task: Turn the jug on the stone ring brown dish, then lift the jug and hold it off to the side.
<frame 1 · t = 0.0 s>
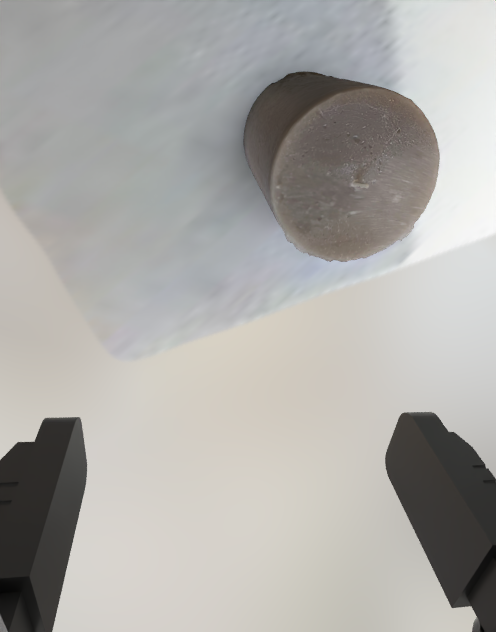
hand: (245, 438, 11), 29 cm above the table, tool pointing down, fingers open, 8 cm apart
pillar candle: (299, 140, 36), on the table
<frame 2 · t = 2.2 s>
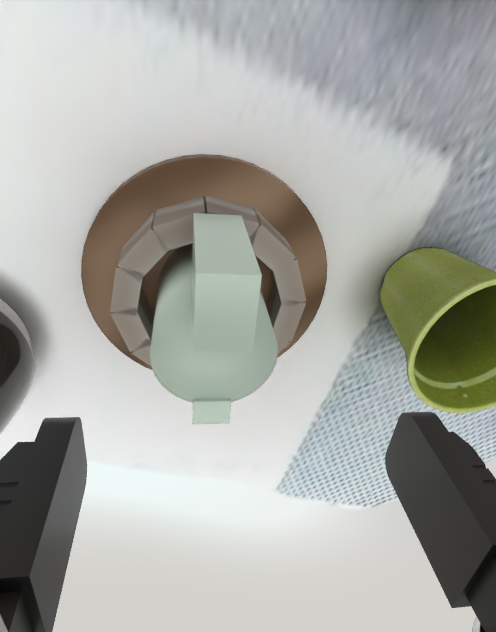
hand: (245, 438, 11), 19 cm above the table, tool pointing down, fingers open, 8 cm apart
stone ring brown dish: (207, 277, 30), on the table
plant pot: (418, 282, 32), on the table
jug: (208, 285, 29), point 1 cm above the table, touching stone ring brown dish
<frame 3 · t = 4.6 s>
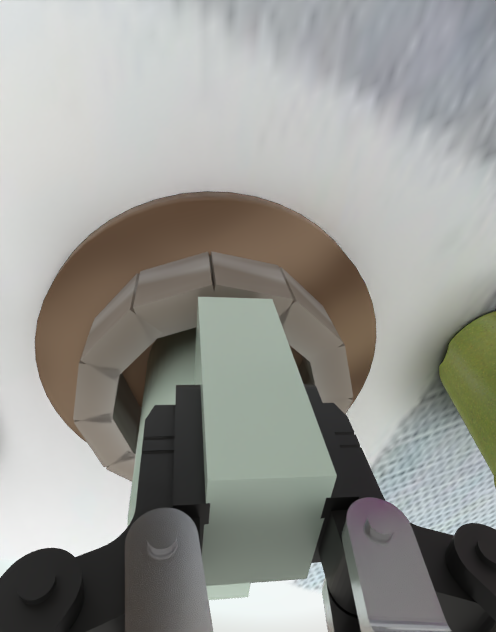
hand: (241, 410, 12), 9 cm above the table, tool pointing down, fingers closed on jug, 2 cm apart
stone ring brown dish: (212, 351, 22), on the table
plant pot: (488, 350, 24), on the table
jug: (215, 368, 21), point 1 cm above the table, touching gripper, stone ring brown dish
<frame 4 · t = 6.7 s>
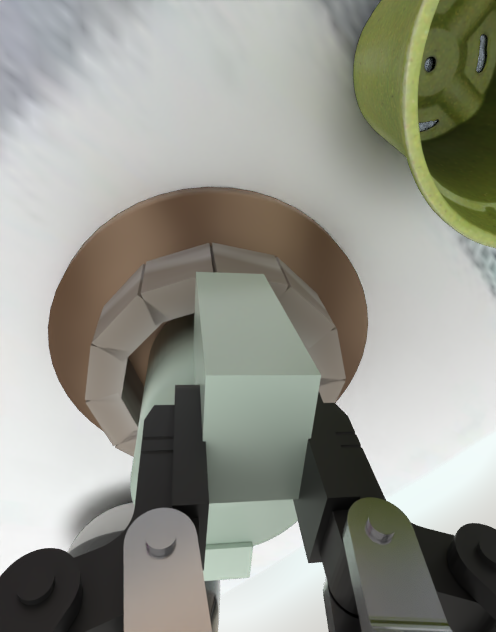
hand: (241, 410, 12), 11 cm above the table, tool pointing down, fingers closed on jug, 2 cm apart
stone ring brown dish: (214, 338, 23), on the table
plant pot: (421, 60, 18), on the table
pump dispenser: (144, 522, 31), on the table
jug: (213, 364, 22), point 2 cm above the table, tilted 8°, touching gripper
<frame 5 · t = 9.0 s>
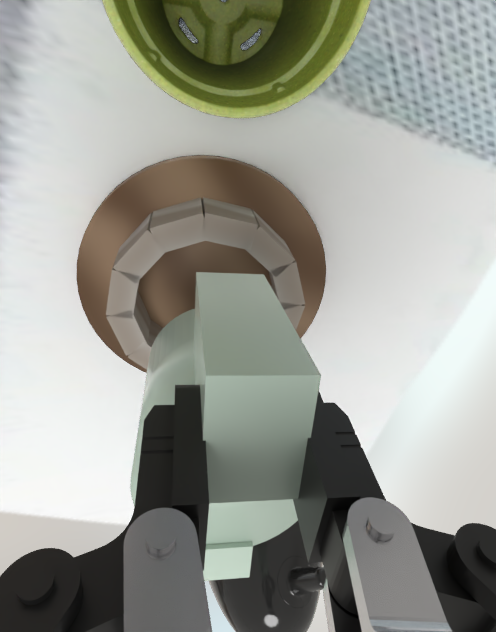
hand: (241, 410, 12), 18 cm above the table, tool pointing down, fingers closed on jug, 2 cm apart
stone ring brown dish: (205, 279, 29), on the table
pump dispenser: (246, 442, 38), on the table
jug: (213, 364, 22), point 9 cm above the table, tilted 8°, touching gripper
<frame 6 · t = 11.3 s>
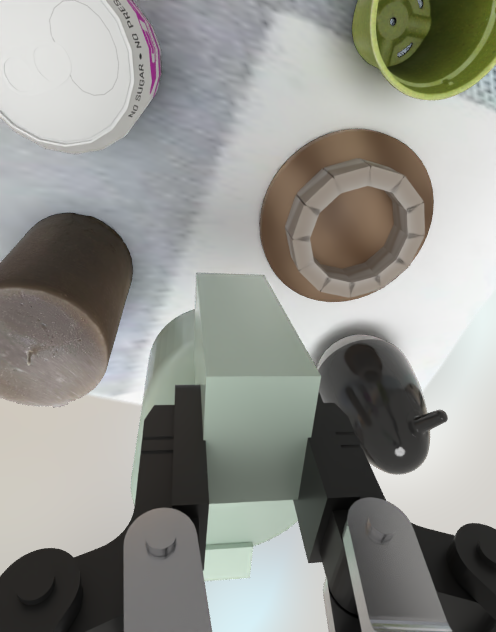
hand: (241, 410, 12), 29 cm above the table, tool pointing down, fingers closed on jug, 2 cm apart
supplement can: (106, 58, 32), on the table
stone ring brown dish: (344, 221, 40), on the table
pillar candle: (77, 263, 40), on the table
plant pot: (388, 20, 33), on the table
pump dispenser: (349, 356, 49), on the table
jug: (213, 365, 22), point 20 cm above the table, tilted 8°, touching gripper
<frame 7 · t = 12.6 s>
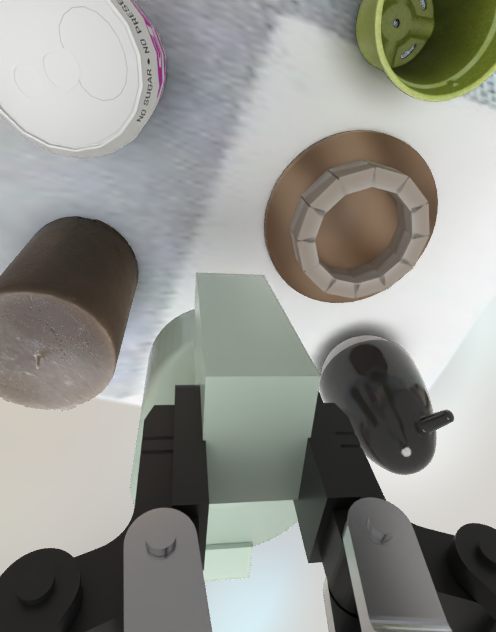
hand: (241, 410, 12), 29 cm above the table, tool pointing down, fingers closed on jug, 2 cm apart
supplement can: (111, 63, 32), on the table
stone ring brown dish: (348, 222, 40), on the table
pillar candle: (83, 267, 40), on the table
plant pot: (391, 22, 33), on the table
pump dispenser: (354, 357, 49), on the table
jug: (213, 365, 22), point 20 cm above the table, tilted 8°, touching gripper
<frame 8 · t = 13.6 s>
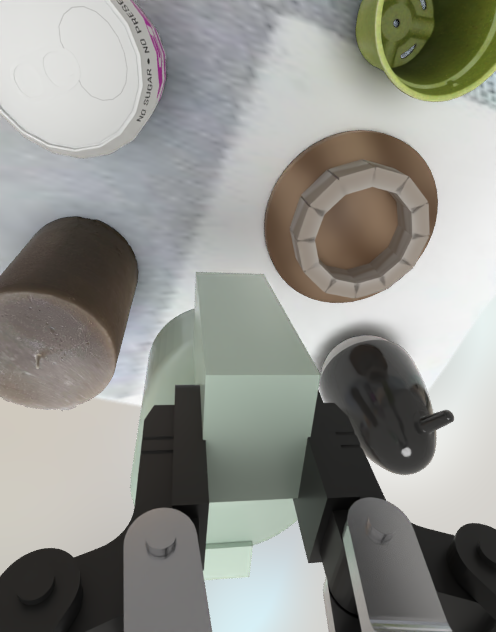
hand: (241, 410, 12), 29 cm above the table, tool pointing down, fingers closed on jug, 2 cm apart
supplement can: (111, 63, 32), on the table
stone ring brown dish: (348, 222, 40), on the table
pillar candle: (83, 267, 40), on the table
plant pot: (391, 22, 33), on the table
pump dispenser: (354, 357, 49), on the table
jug: (213, 364, 22), point 20 cm above the table, tilted 8°, touching gripper
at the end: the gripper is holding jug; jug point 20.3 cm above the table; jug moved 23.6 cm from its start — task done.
